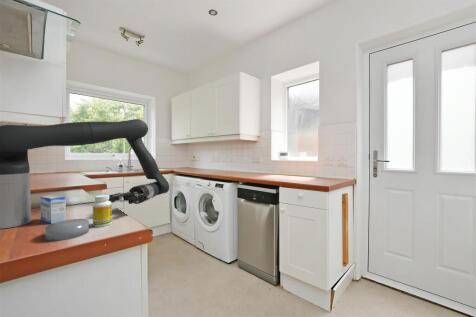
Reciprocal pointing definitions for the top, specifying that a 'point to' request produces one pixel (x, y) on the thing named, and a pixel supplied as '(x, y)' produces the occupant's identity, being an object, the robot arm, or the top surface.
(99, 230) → the top surface
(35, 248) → the top surface
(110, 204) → the supplement bottle
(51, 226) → the plinth
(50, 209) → the medicine box
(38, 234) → the top surface
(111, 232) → the top surface
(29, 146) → the robot arm
